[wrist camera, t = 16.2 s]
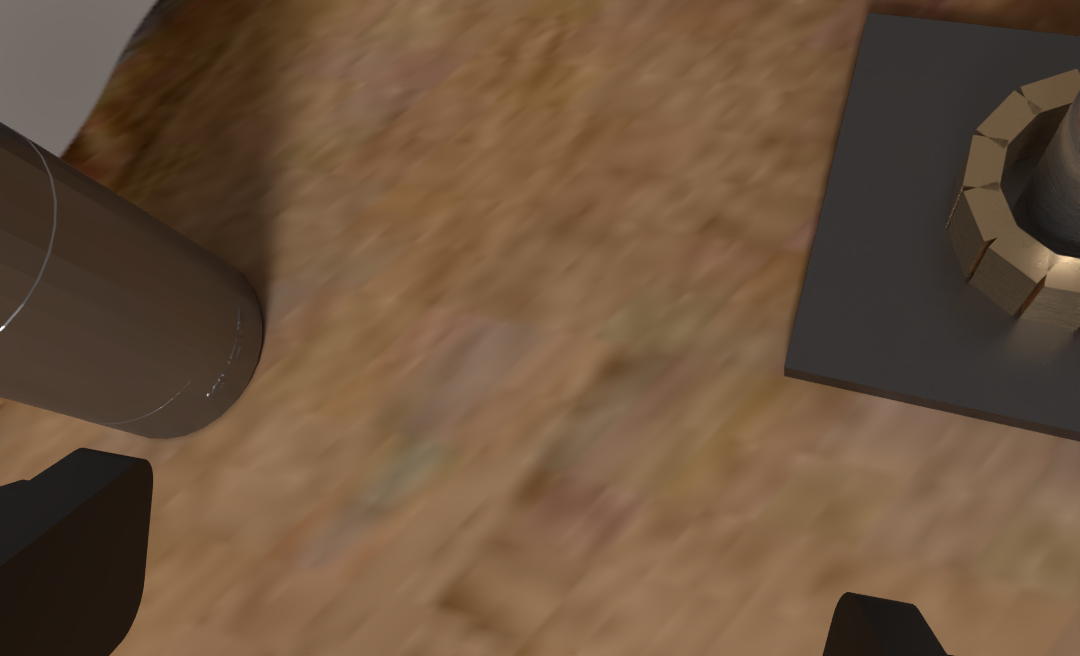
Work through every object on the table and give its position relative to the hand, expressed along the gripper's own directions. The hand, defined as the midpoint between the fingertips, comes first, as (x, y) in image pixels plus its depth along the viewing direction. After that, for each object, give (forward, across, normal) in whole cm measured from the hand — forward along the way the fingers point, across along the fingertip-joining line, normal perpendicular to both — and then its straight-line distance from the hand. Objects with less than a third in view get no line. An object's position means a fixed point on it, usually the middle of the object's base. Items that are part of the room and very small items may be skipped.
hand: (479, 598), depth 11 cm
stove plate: (+30, -19, -4) cm, 36 cm away
